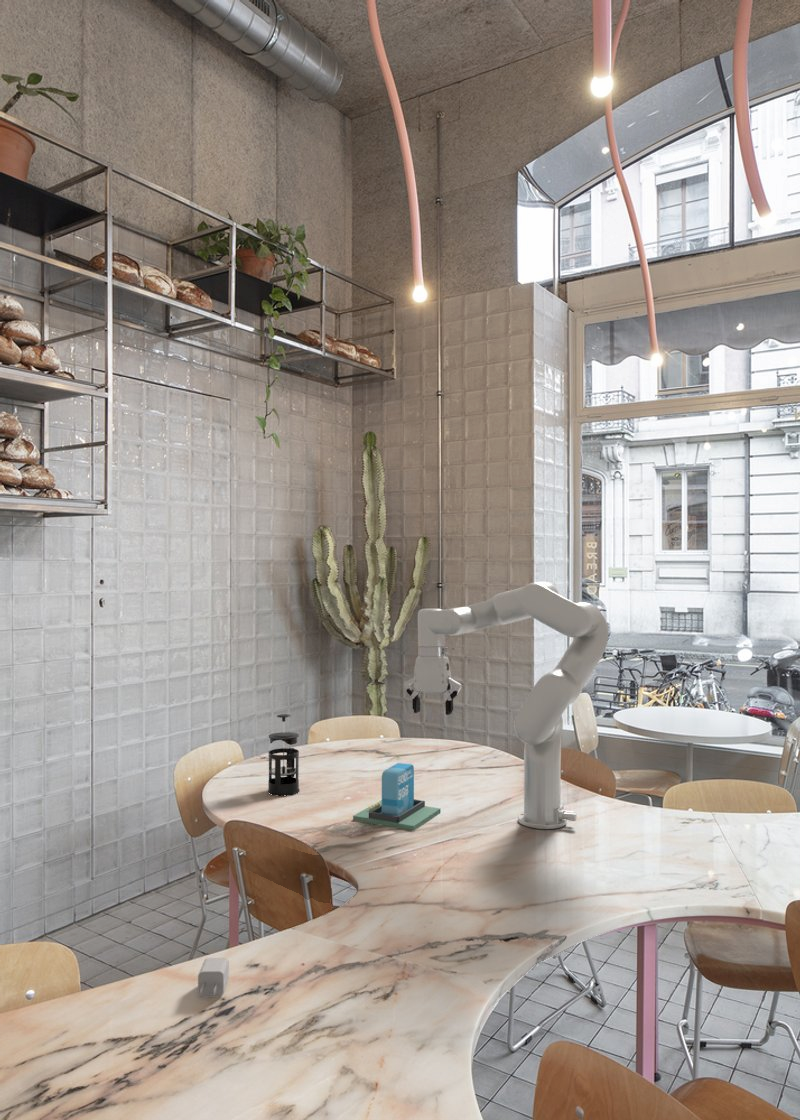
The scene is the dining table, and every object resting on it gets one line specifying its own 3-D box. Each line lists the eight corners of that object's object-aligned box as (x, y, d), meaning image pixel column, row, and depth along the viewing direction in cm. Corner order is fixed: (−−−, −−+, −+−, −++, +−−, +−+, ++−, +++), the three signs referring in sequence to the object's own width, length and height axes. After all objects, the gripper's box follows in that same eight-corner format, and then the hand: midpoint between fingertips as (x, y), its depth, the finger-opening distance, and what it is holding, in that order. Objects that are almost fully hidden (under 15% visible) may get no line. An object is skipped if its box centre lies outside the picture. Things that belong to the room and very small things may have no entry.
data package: (397, 819, 208) (397, 773, 208) (381, 817, 209) (381, 771, 210) (414, 806, 219) (414, 763, 219) (399, 804, 220) (399, 761, 221)
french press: (291, 798, 231) (291, 718, 231) (261, 795, 233) (261, 717, 233) (306, 787, 242) (306, 711, 242) (277, 785, 245) (277, 710, 245)
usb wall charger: (228, 982, 129) (228, 957, 129) (220, 1005, 122) (220, 979, 122) (203, 982, 129) (203, 958, 129) (194, 1006, 122) (194, 980, 122)
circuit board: (440, 812, 217) (440, 803, 217) (413, 830, 203) (413, 820, 203) (382, 803, 226) (382, 794, 226) (353, 820, 211) (353, 810, 211)
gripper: (465, 651, 224) (466, 712, 224) (409, 650, 231) (410, 709, 231) (455, 654, 217) (456, 717, 217) (398, 652, 224) (399, 713, 224)
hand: (432, 713), depth 224 cm, fingers open, 9 cm apart
